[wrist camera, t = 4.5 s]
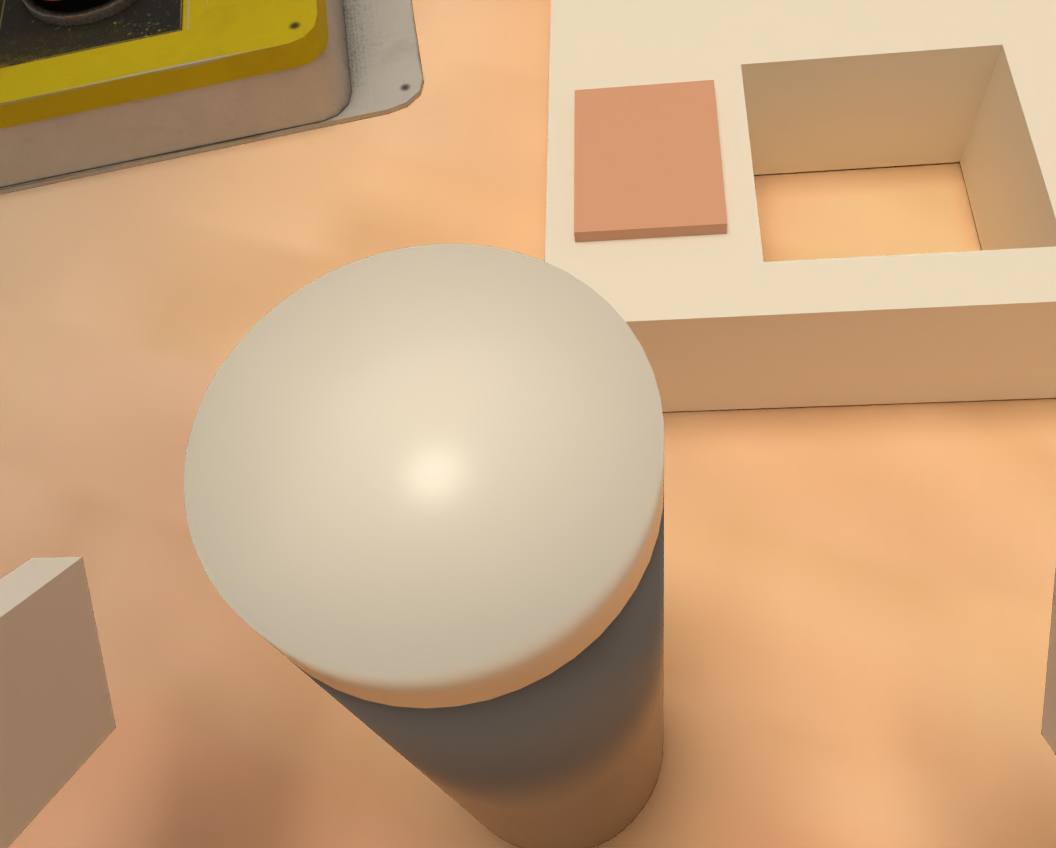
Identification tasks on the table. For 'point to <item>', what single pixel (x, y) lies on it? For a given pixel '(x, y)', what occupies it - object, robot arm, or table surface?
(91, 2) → the emergency button
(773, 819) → the table surface
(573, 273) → the socket block
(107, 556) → the table surface
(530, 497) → the capped grey bottle
